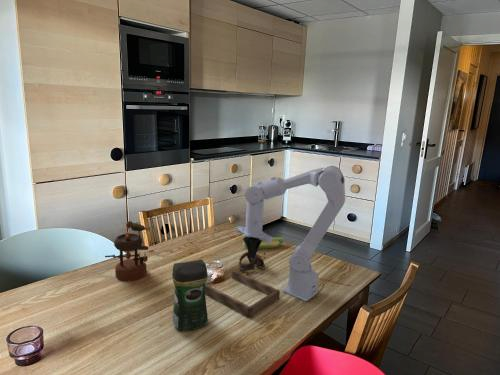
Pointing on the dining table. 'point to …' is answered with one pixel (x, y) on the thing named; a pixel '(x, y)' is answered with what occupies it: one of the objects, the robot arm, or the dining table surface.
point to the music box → (130, 242)
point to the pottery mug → (251, 262)
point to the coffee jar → (189, 295)
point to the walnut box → (239, 306)
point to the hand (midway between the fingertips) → (252, 256)
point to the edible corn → (275, 243)
